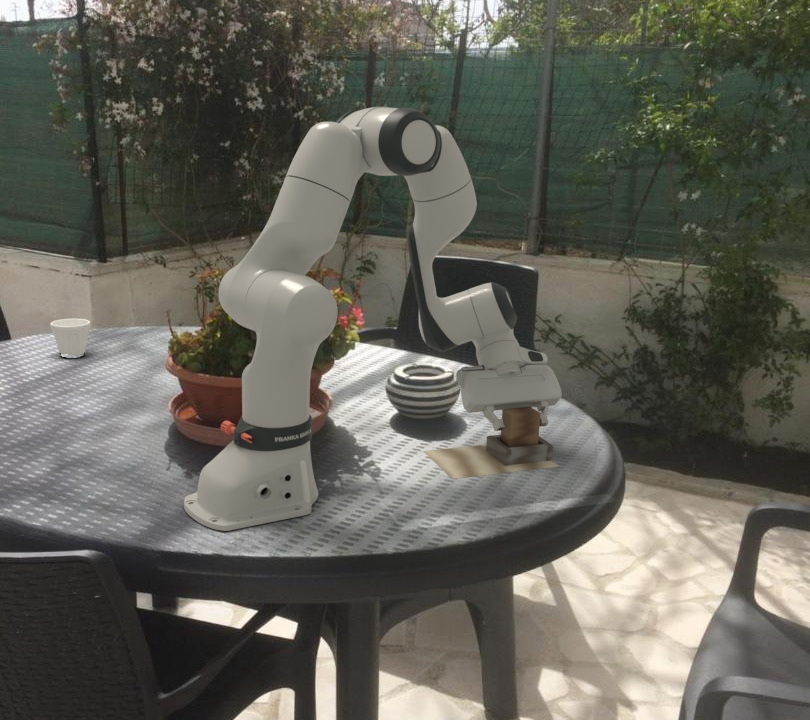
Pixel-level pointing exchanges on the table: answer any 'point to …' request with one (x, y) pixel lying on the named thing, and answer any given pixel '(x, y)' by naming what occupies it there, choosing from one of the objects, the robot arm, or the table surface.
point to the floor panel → (492, 458)
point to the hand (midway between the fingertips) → (522, 427)
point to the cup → (71, 335)
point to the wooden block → (520, 427)
